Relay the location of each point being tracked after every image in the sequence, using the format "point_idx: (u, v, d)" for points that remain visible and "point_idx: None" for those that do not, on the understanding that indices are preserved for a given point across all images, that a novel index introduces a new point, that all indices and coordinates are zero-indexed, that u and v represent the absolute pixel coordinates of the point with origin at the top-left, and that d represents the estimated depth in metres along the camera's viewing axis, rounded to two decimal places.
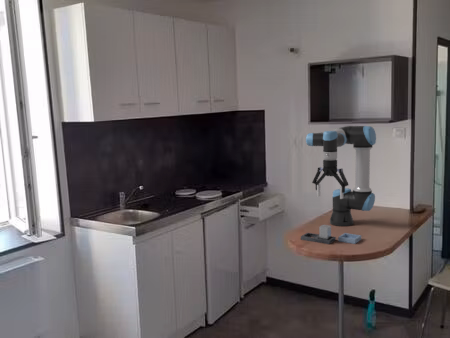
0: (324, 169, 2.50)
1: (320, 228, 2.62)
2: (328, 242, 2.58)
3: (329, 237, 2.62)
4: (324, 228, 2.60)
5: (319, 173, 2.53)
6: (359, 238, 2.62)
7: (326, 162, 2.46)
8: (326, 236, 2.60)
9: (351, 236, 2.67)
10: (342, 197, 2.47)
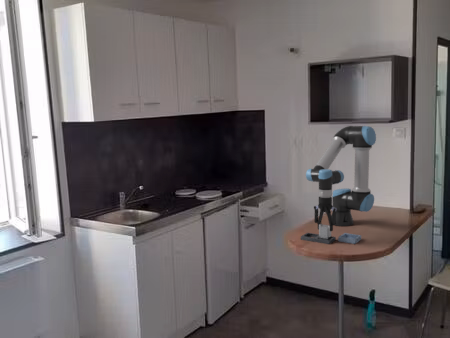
0: (319, 205, 2.61)
1: (320, 228, 2.62)
2: (328, 242, 2.58)
3: (329, 237, 2.62)
4: (324, 228, 2.60)
5: (317, 211, 2.64)
6: (359, 238, 2.62)
7: (321, 199, 2.57)
8: (326, 236, 2.60)
9: (351, 236, 2.67)
10: (330, 235, 2.61)
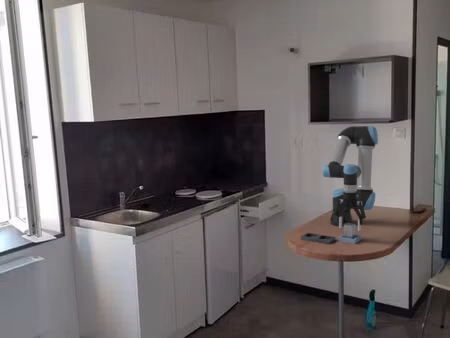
0: (344, 201, 2.61)
1: (345, 226, 2.61)
2: (328, 242, 2.58)
3: (353, 235, 2.62)
4: (349, 226, 2.60)
5: (340, 205, 2.64)
6: (359, 238, 2.62)
7: (346, 194, 2.57)
8: (351, 235, 2.60)
9: None
10: (360, 229, 2.59)
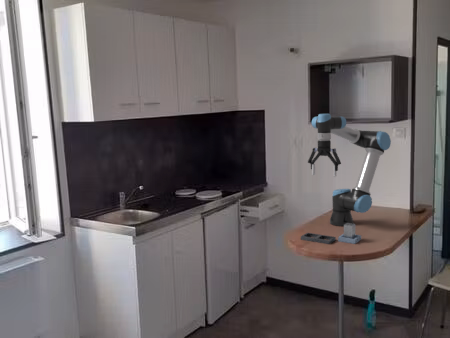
0: (318, 149, 2.69)
1: (345, 226, 2.61)
2: (328, 242, 2.58)
3: (353, 235, 2.62)
4: (349, 226, 2.60)
5: (314, 153, 2.72)
6: (359, 238, 2.62)
7: (320, 142, 2.65)
8: (351, 235, 2.60)
9: None
10: (335, 175, 2.66)
